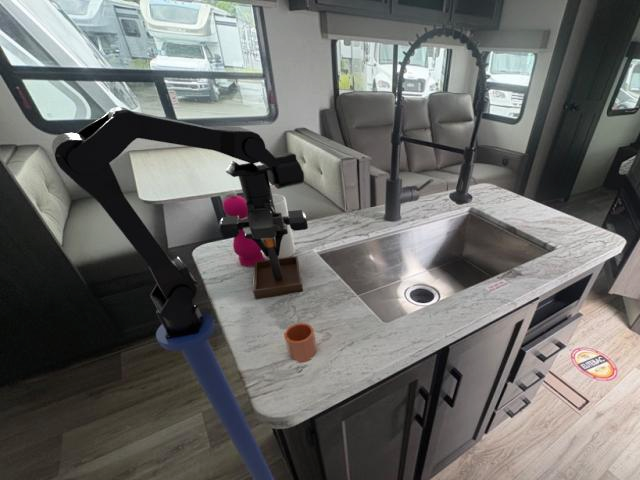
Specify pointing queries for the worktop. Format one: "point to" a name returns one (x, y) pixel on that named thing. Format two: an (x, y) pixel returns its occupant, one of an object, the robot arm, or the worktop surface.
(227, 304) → the worktop surface
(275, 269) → the marker
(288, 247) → the cup
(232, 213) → the pepper mill
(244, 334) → the worktop surface
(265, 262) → the tray
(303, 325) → the pen cup
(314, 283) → the worktop surface
